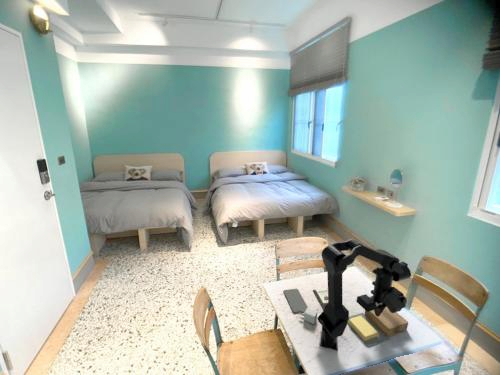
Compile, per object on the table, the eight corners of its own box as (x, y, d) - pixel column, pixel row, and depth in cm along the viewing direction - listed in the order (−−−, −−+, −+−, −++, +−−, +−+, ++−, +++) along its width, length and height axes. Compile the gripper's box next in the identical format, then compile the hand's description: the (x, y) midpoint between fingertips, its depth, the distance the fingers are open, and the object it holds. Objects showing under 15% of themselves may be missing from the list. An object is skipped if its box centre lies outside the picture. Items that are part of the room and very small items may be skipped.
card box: (349, 319, 103) (348, 323, 104) (365, 336, 95) (364, 340, 96) (360, 315, 105) (360, 319, 106) (377, 332, 97) (377, 336, 98)
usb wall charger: (313, 325, 103) (314, 317, 102) (297, 318, 107) (298, 310, 106) (316, 318, 107) (317, 310, 105) (301, 312, 110) (301, 304, 109)
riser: (382, 309, 112) (383, 301, 110) (406, 330, 101) (408, 322, 100) (364, 314, 108) (365, 307, 107) (387, 337, 98) (388, 329, 96)
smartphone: (297, 288, 124) (309, 310, 110) (297, 289, 125) (309, 312, 111) (282, 290, 123) (293, 312, 109) (282, 291, 123) (293, 314, 109)
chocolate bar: (328, 318, 106) (313, 289, 123) (328, 320, 106) (312, 291, 123) (349, 316, 107) (330, 288, 124) (348, 318, 107) (330, 290, 124)
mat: (362, 313, 109) (362, 312, 109) (389, 339, 97) (389, 338, 97) (343, 319, 106) (343, 318, 106) (368, 347, 94) (368, 346, 93)
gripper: (381, 302, 87) (374, 338, 91) (420, 290, 93) (412, 324, 97) (358, 282, 97) (353, 315, 102) (395, 273, 103) (388, 304, 108)
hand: (377, 315), depth 102 cm, fingers closed
